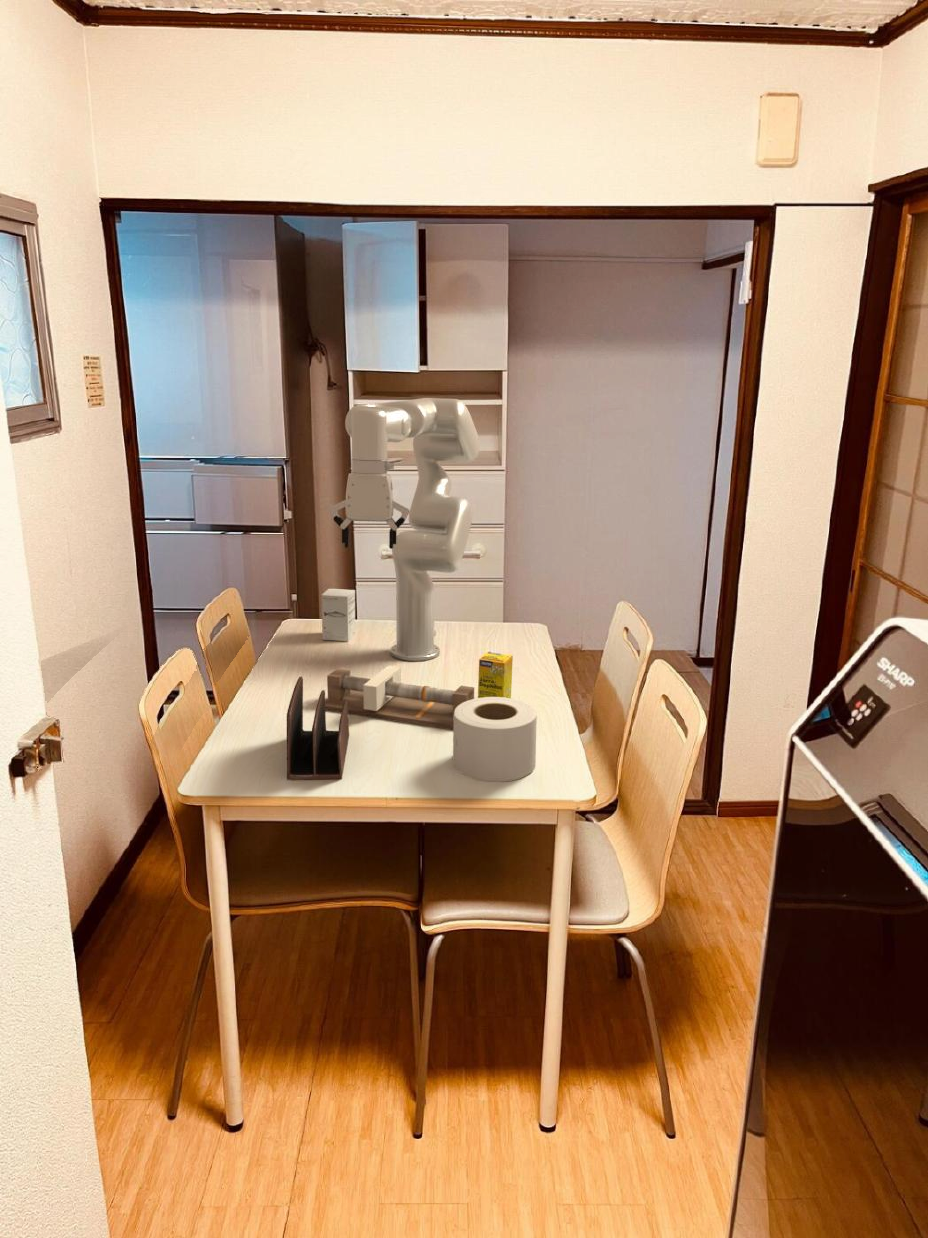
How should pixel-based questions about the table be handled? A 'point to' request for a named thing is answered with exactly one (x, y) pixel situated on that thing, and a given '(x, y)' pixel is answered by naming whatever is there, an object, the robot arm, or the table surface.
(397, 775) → the table surface
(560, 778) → the table surface
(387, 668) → the collar
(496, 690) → the supplement box
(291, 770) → the letter holder
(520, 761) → the white paper roll
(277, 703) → the table surface
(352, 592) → the supplement box
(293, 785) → the table surface
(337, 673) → the pipe stand
